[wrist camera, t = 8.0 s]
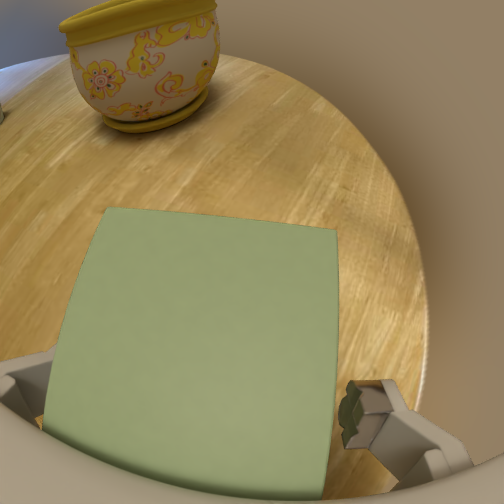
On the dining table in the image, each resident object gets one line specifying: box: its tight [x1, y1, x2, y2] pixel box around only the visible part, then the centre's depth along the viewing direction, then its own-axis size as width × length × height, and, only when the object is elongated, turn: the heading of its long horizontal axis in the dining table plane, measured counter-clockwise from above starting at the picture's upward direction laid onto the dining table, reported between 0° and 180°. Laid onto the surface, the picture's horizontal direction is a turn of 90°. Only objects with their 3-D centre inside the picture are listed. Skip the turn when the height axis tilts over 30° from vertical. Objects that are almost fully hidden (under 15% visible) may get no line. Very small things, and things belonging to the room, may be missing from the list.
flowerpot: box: [59, 0, 220, 133], centre depth 25 cm, size 18×18×16 cm
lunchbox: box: [42, 207, 339, 501], centre depth 9 cm, size 6×7×10 cm
